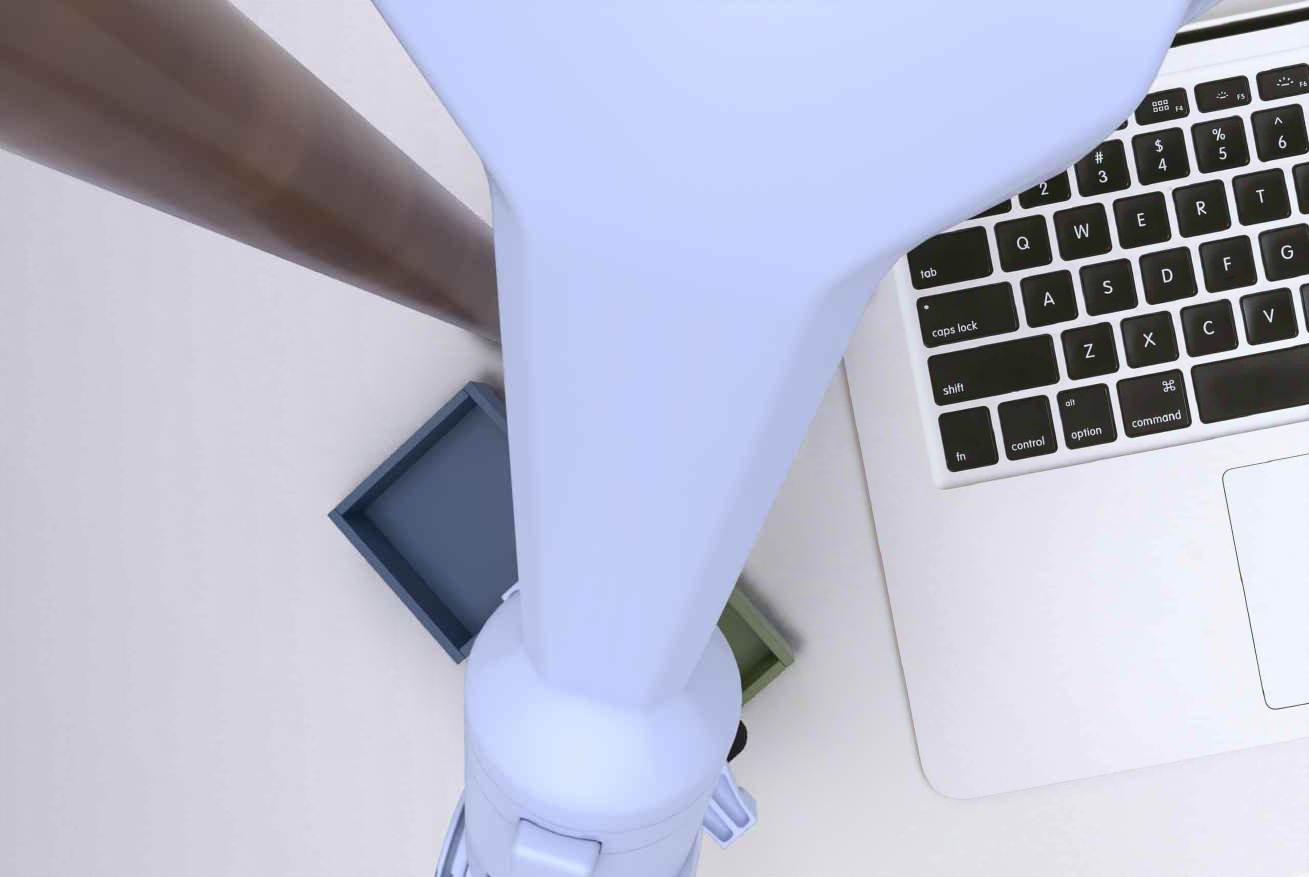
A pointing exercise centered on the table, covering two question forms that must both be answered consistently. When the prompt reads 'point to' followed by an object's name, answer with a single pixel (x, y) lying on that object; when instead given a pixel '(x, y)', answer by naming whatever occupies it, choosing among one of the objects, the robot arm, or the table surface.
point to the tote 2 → (753, 644)
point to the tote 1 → (443, 519)
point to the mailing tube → (237, 147)
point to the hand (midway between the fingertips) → (647, 653)
